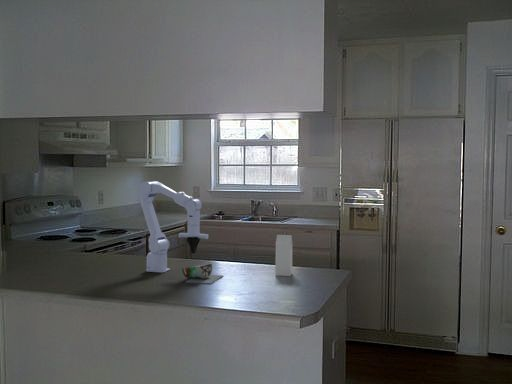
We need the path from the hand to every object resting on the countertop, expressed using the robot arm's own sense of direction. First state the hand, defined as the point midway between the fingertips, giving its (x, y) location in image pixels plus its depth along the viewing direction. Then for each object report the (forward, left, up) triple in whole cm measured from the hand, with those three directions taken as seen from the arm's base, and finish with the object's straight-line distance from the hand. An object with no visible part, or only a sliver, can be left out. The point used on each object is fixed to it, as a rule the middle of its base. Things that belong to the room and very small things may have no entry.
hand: (193, 253), depth 253 cm
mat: (+9, -8, -10) cm, 16 cm away
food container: (0, -8, -9) cm, 11 cm away
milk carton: (+41, +13, -11) cm, 44 cm away
